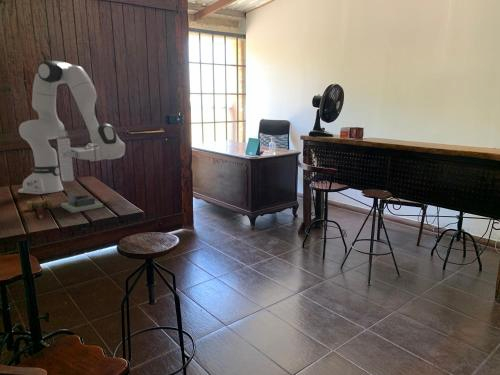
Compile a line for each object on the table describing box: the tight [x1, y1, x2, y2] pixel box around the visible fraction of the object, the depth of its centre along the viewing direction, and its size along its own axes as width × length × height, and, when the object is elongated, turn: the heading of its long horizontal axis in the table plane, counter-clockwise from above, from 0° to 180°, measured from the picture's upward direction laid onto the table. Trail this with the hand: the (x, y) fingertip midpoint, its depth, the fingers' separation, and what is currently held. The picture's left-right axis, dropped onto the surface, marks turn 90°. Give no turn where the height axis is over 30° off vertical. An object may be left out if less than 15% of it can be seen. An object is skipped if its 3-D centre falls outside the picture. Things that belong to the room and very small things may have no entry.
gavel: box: [26, 198, 53, 220], centre depth 170 cm, size 21×5×10 cm
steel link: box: [56, 129, 75, 182], centre depth 182 cm, size 4×4×24 cm
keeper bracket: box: [60, 191, 104, 214], centre depth 180 cm, size 14×14×7 cm
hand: (63, 154), depth 181 cm, fingers closed on steel link, 4 cm apart
